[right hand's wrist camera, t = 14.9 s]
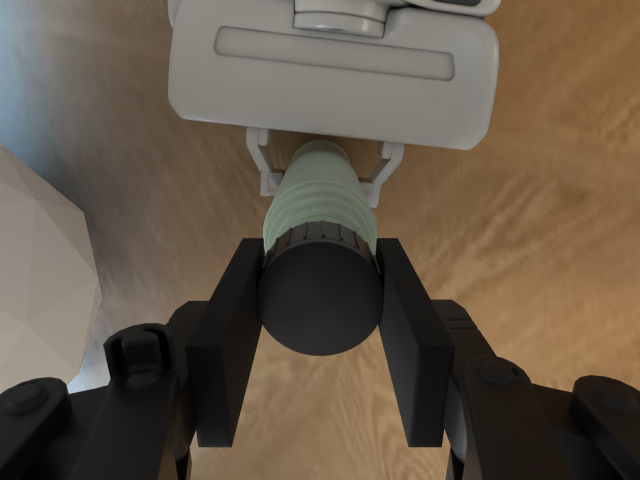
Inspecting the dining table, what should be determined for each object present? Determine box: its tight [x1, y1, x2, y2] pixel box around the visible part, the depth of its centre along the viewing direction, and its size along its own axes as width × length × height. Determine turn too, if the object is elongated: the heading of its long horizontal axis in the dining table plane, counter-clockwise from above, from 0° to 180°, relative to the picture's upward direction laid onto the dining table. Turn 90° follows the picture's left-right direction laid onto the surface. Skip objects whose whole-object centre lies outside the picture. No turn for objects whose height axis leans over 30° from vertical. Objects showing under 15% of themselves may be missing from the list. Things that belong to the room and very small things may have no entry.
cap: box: [256, 220, 384, 356], centre depth 14 cm, size 4×4×2 cm
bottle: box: [263, 140, 377, 255], centre depth 24 cm, size 5×5×22 cm
